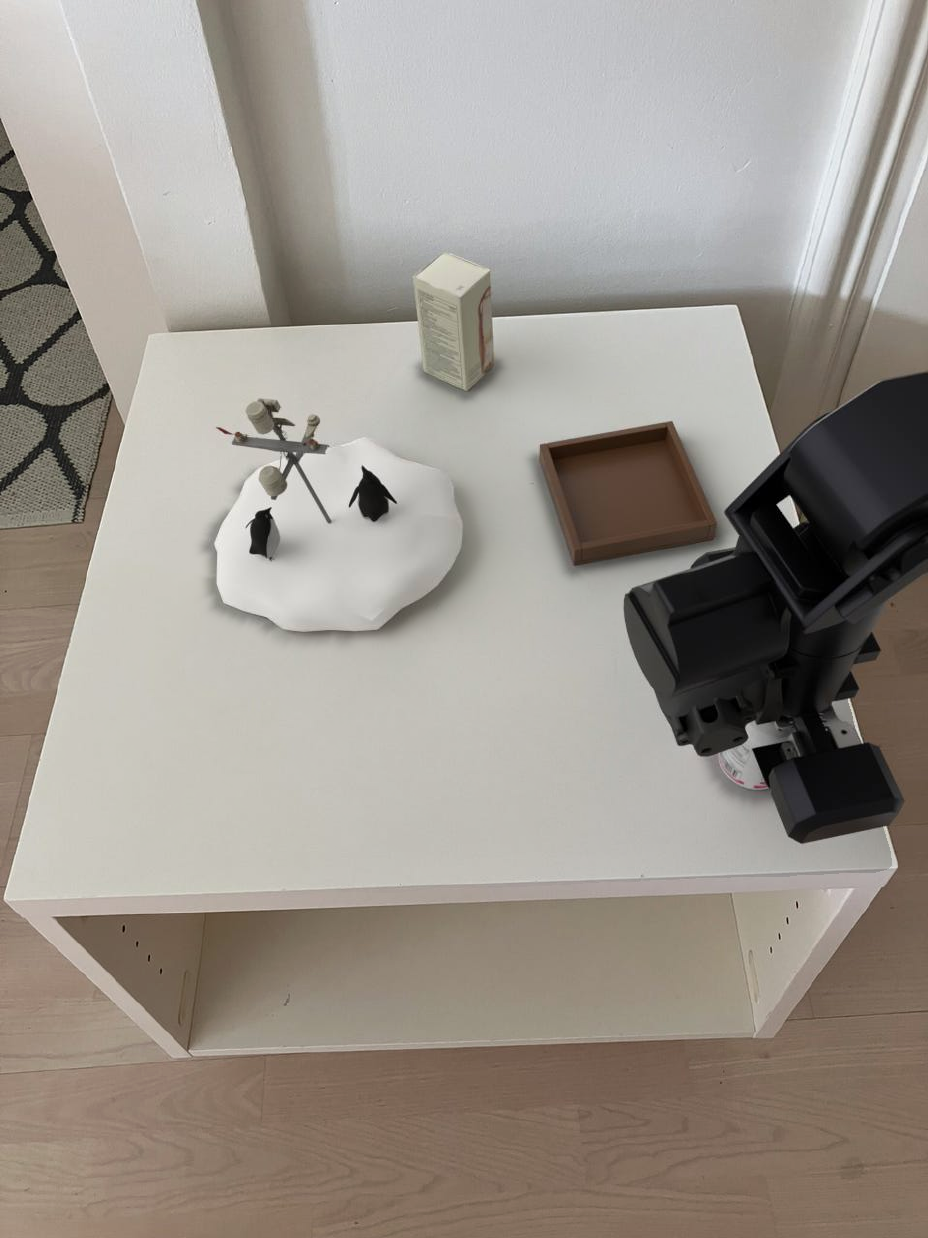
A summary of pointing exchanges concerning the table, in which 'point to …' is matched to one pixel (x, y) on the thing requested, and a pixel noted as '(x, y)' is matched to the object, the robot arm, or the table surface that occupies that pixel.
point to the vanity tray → (625, 493)
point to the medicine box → (455, 319)
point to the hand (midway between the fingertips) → (758, 745)
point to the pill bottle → (751, 755)
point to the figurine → (333, 531)
